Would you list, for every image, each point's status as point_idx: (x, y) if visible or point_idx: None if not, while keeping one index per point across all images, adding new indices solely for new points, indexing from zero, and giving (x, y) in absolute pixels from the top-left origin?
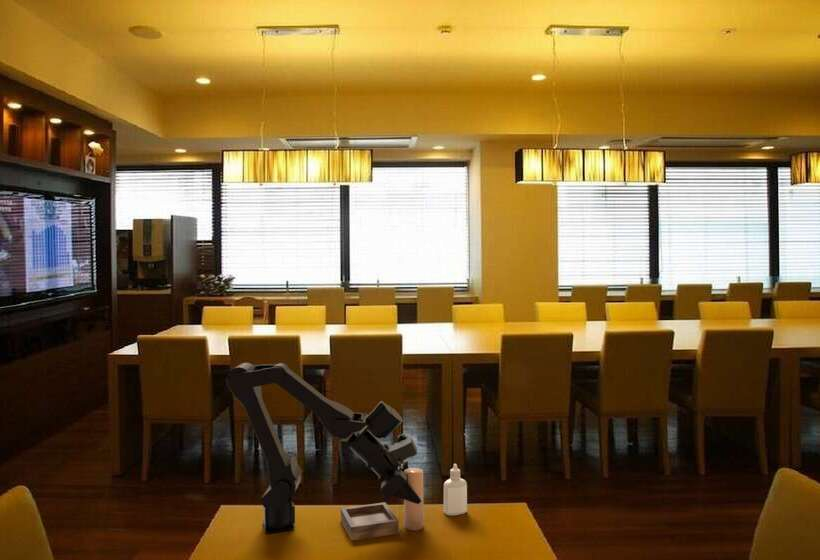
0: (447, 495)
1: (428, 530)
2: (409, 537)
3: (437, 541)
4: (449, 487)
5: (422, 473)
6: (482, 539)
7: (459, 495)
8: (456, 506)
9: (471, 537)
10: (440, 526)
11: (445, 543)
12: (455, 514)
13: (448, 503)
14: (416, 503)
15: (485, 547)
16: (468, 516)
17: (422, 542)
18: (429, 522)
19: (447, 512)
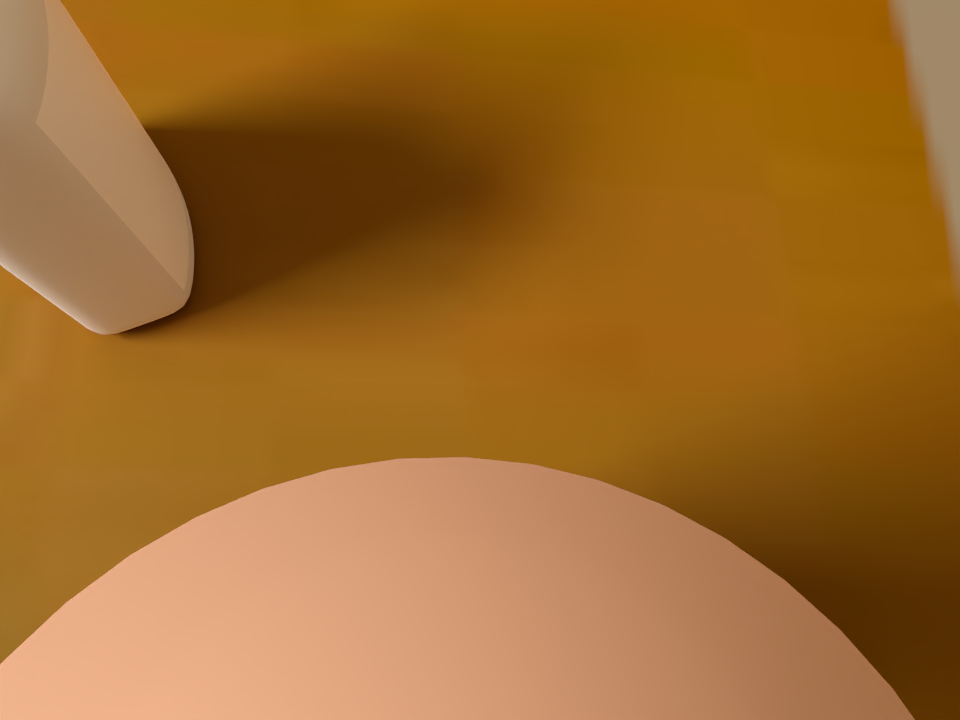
0: (93, 195)
1: None
2: None
3: (769, 414)
4: (35, 95)
5: (610, 493)
6: (679, 57)
7: (94, 57)
8: (157, 172)
9: (652, 131)
10: (440, 381)
11: (797, 344)
12: (190, 225)
13: (145, 236)
14: None
15: (813, 50)
16: (218, 122)
17: (813, 561)
18: None
19: (179, 292)
